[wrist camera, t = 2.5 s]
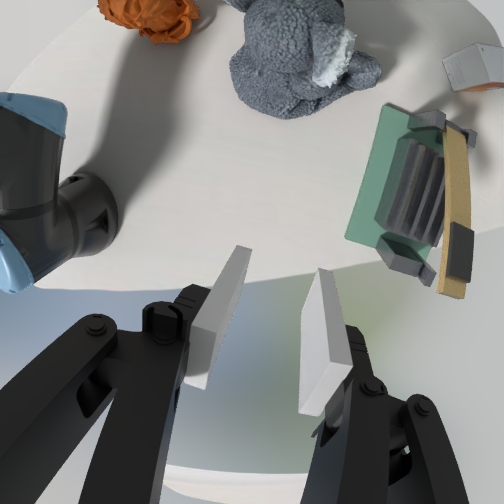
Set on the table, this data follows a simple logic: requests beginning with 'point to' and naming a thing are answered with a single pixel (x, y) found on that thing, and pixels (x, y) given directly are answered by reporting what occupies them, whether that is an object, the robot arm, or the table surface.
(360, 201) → the board
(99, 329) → the robot arm
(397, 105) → the table surface
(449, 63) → the small box
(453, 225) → the tan and black bar
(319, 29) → the koala plush
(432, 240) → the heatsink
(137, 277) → the table surface
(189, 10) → the orange tall rounded piece
